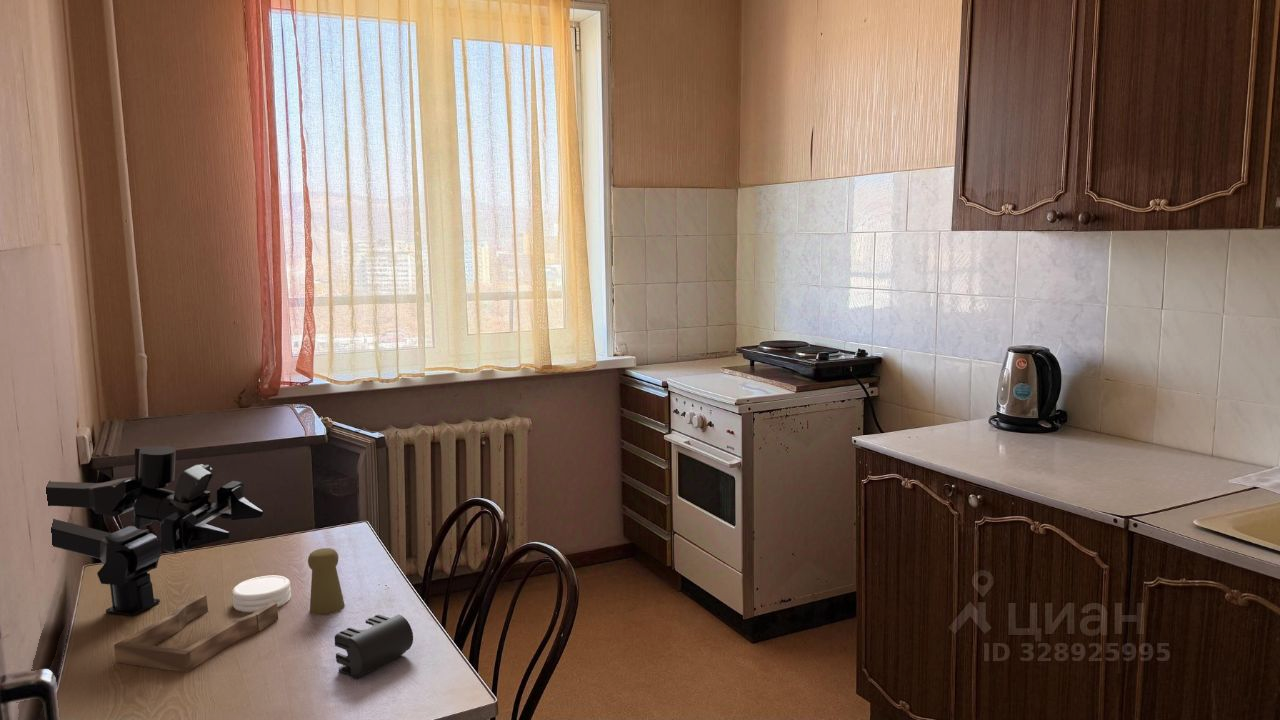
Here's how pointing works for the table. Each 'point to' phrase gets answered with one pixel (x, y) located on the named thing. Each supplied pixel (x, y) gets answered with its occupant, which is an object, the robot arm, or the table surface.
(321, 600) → the cork
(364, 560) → the table surface
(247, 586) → the coaster
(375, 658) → the end cap
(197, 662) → the wooden u-shaped frame
